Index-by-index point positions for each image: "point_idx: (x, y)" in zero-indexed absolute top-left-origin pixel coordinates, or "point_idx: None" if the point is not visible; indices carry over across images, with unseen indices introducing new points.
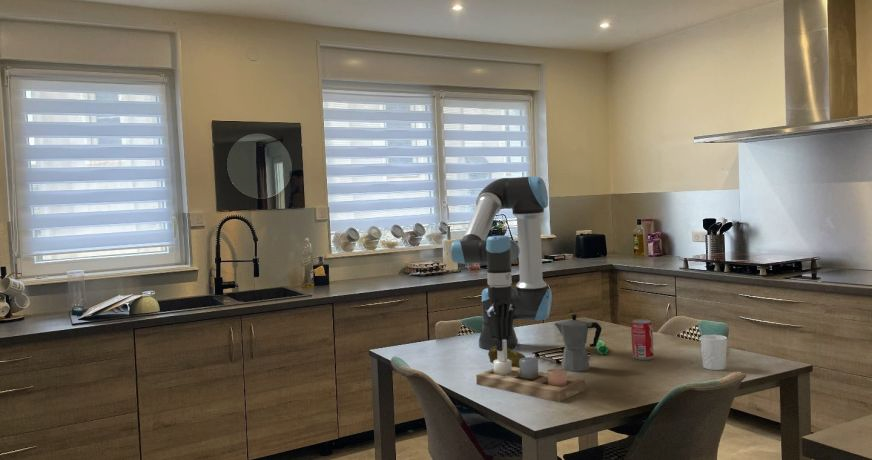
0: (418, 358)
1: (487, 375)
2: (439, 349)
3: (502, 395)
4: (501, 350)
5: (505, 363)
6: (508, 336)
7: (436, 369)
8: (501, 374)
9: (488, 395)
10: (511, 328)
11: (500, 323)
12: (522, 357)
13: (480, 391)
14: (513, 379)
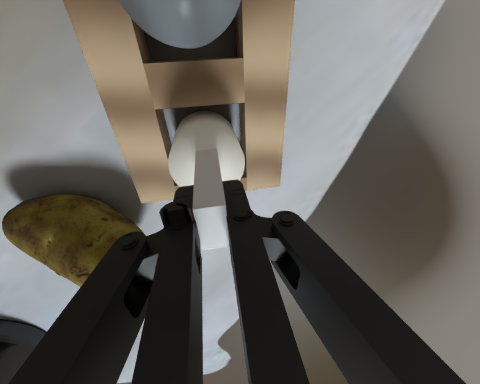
0: (203, 336)
1: (269, 157)
2: (136, 356)
3: (331, 23)
4: (230, 180)
5: (225, 133)
6: (148, 237)
7: (233, 288)
8: (233, 130)
9: (348, 68)
10: (92, 288)
11: (297, 348)
12: (25, 214)
13: (322, 118)
14: (260, 38)
